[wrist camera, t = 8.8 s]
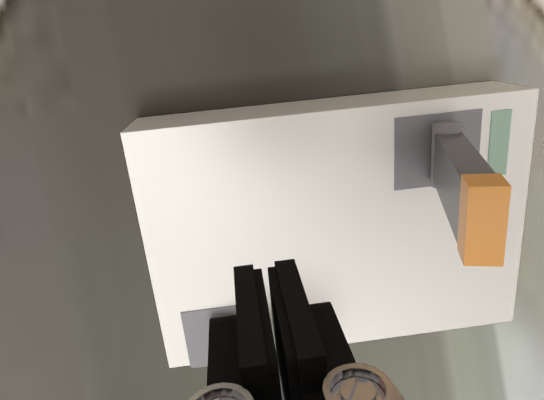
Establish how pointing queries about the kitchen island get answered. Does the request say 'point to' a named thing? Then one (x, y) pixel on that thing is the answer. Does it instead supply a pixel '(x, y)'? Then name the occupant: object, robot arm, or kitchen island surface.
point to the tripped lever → (470, 196)
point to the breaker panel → (325, 208)
